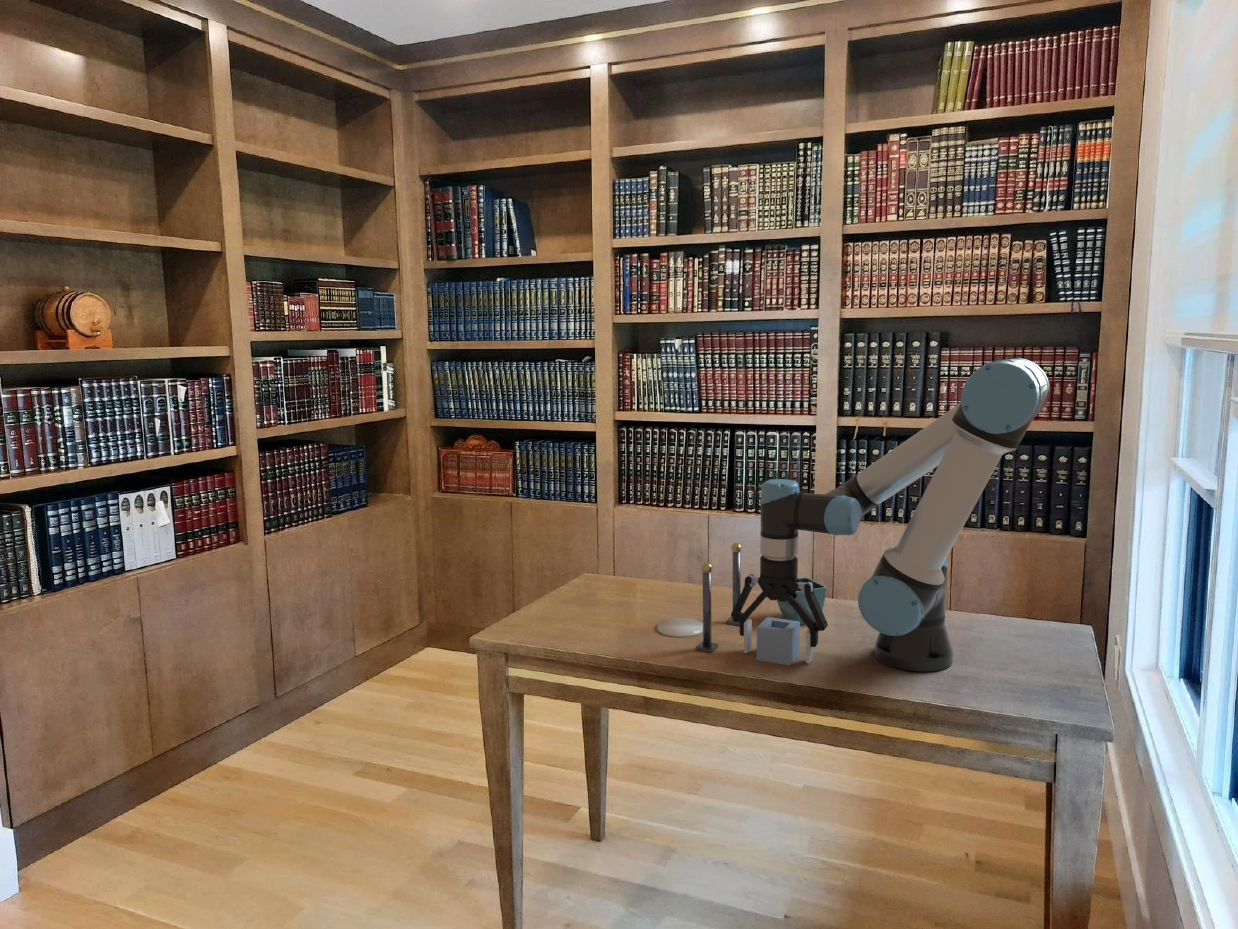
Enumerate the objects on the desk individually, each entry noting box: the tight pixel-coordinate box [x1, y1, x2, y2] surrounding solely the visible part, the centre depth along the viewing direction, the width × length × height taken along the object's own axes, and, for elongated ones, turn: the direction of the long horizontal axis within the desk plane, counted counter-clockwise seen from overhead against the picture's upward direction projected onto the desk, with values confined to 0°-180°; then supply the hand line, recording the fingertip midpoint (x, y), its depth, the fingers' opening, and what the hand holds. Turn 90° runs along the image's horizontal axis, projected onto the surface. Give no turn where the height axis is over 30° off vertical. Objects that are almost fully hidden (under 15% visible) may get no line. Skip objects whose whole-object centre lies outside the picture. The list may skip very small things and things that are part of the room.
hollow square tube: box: [756, 616, 801, 666], centre depth 175 cm, size 7×7×7 cm
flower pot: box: [776, 576, 828, 626], centre depth 196 cm, size 9×9×9 cm
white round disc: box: [656, 617, 703, 638], centre depth 194 cm, size 11×11×1 cm
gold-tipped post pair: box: [695, 542, 743, 654], centre depth 188 cm, size 4×22×19 cm, turn 152°
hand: (777, 656), depth 176 cm, fingers open, 12 cm apart
